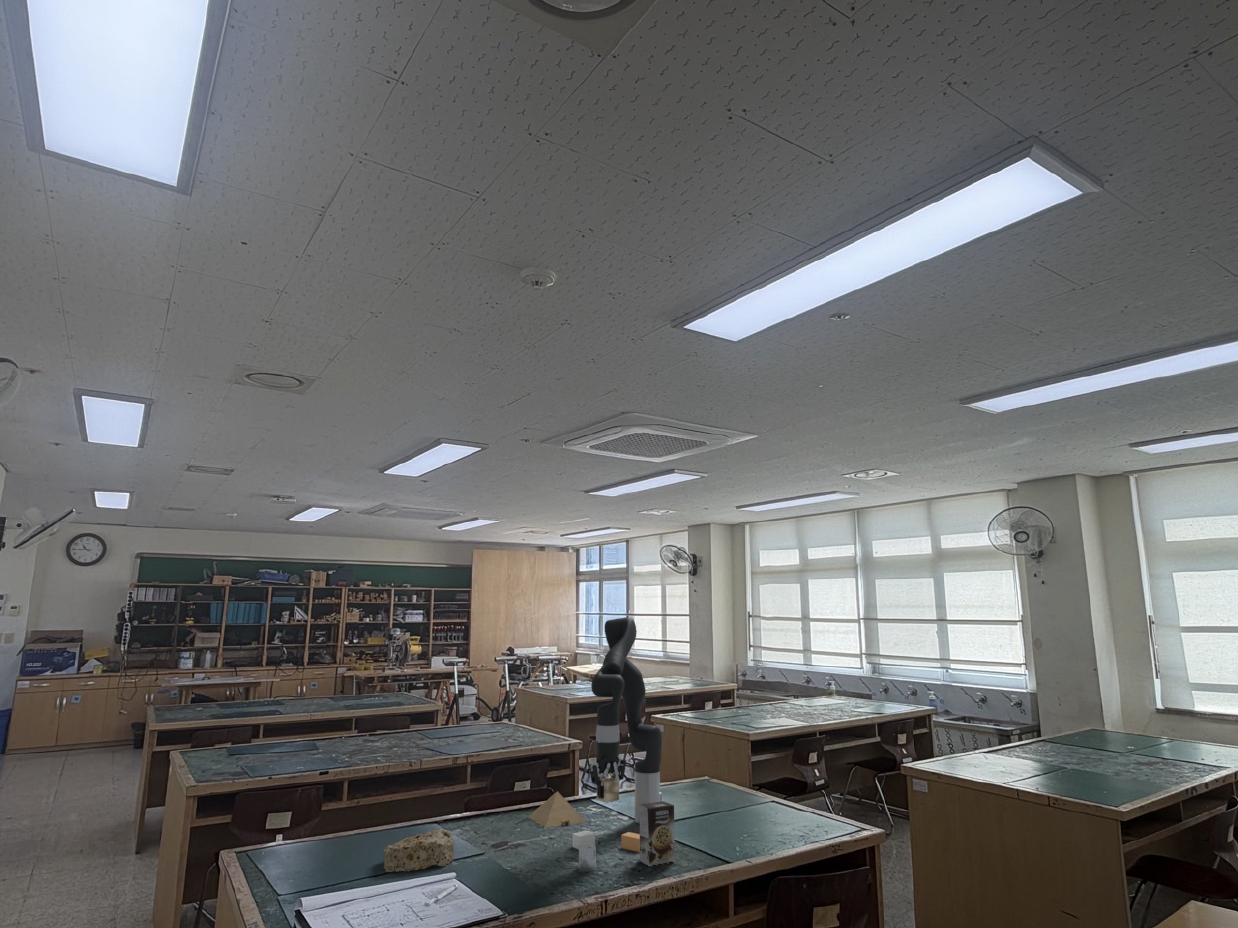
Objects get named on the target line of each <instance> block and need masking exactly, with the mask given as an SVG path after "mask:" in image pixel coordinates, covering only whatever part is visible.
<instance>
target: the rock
mask: <svg viewBox="0 0 1238 928" xmlns="http://www.w3.org/2000/svg"><path fill="white" fill-rule="evenodd" d="M454 845H455V844H454V836H453V833H452V831H450V830H445V829H440V828H439V829H434V830H432V831H431V830H427V831H426V832H425V833H424V834H423V833H418V834H413V836H410V837H405V838H404V839H401V840H400V841H398V842H395V843H394V844H392V845H390V844H389V845H387V846H386V847H385V848H384V850H383V869H385V870H386V871H387V872H390V871H391V872H392V871H396V872H397V873H400V872H399V871H408V872H410V871H417V870H418V871H419V870H425V869H427V868H430V867H432V866H438V867H445V866H447V865H446V864H448V863H450V862H451V863H453V861H454V858H455V857H454V856H455V855H454V847H455V846H454ZM451 863H450V864H451ZM448 865H449V864H448ZM385 870H384V871H385ZM387 872H386V873H387Z"/></svg>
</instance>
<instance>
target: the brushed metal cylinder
mask: <svg viewBox="0 0 1238 928" xmlns="http://www.w3.org/2000/svg"><path fill="white" fill-rule="evenodd" d="M596 848H597V846H596V844H595V845H593V844H583V845H580V846H579V849H578V870H579V871H580V872H584V873H591V872H593V871H595V870H596V869H597V868H596V867H597V866H596V864H597V861H596V860H597V849H596Z"/></svg>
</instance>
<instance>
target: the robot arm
mask: <svg viewBox="0 0 1238 928" xmlns="http://www.w3.org/2000/svg"><path fill="white" fill-rule="evenodd" d="M637 630H638V629H637V625H636V623H635V620H634V619H633V618H632V617H630V616H629V617H619V618H614V619H613V618H612V619H608V620H606V621H605V623H604V633H605V638H606V642H607V645H608V648H609V650H608V651H607V652H606V654H605V656H604V659H603V662H602V666H601V667H600V668H599V669H598V671H597V672H596V673H595V675H593V678H592V680H591V684H590V685H591V686H590V687H591V692H592V694H593V696H595V697H598V698H612V701H611V702H609V703H605V704H601V705H598V707H597V710H596V730H595V754H596V756H597V757H596V758H597V759H596V761H595V762H594V763H590V764H589V765H588V771H589V775H590V781H591V784H593V785H596V797H597V796H598V798H600V799H603V798H604V786H603V785H604V781H605V779H606V778H607V777H608V775H609V777H611V778H615V779H619V782H620V781H622V780H624V777H625V773H626V766H627V760H626V759H624V758H620V757H619V755H620V751H621V747H620V746H621V745H620V743H621V742H620V741H621V739H620V737H621V735H620V734H621V733H620V731H621V730H620V725H619V724H620V716H619V715H620V705H621V700H622V702H623V707H624V711H625V715H626V721H627V730H628V737H629V742H630V744H631V746H632V748H633V749H634V750H636V751H642V752H645V758H643V759H641V760H638V761H636V762H635V763H634V823H636V824H639V825H640V804H646V803H655V802H663V793H662V792H661V777H660V776H661V772H660V771H661V768H660V767H661V763H662V746H663V745H662V744H663V737H662V736H663V735H662V730H661V729H660V727H659V726H657V725H652V724H645V723H643V722H642V721H643V720H642V716H641V709H642V705H643V703H644V700H645V698H646V684H645V681H644V677H643V674H642V672H641V670H640V669H639V667H637V666H636V665H635V664H634V663H633V661H631V660H630V659H629V658H628V654H629V653H630V651H631V650H632V647H633V646H634V643H635V641H636V638H637ZM600 780H601V781H600Z"/></svg>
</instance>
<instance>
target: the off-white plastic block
mask: <svg viewBox="0 0 1238 928" xmlns="http://www.w3.org/2000/svg"><path fill="white" fill-rule="evenodd" d="M595 840H596V833H595V832H592V831H590V830H583V831H578V832H575V833H572V848H574V849H577V850H579V846H580V845H583V844H593V845H595V846H596V841H595Z"/></svg>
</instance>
